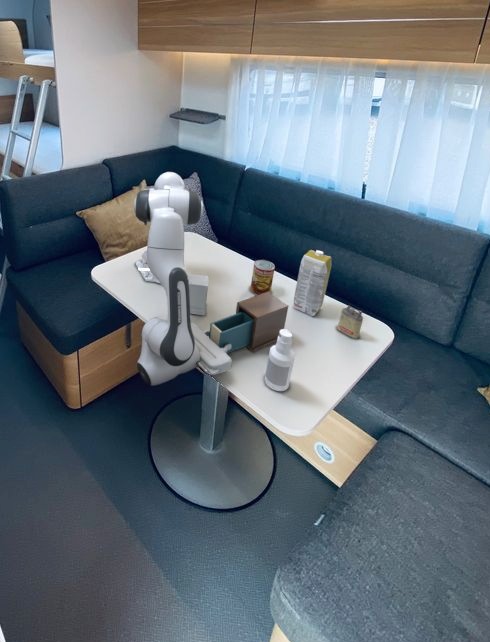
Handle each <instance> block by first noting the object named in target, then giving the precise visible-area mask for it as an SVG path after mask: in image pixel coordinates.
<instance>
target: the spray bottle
mask: <svg viewBox="0 0 490 642" xmlns="http://www.w3.org/2000/svg"><path fill="white" fill-rule="evenodd" d="M292 343H293V334H292V332H291V330H289V329H286V328H284V329H281V330H280V333H279V336H278V339H277V341H276V342H275V344H273V345H272V346H271V347H270V348H269V353H268V359H267V363H266V369H265V374H264V381H265V384H266V386H267V387H268V388H269V389H271V390H273V391H276V392H283V391H287V390H288V389H289V387H290V382H291V377H292V372H293V367H294V362H295V358H296V357H295V355H296V354H295V352H294V351H293V350H292Z"/></svg>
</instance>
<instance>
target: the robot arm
mask: <svg viewBox="0 0 490 642" xmlns="http://www.w3.org/2000/svg"><path fill="white" fill-rule="evenodd" d="M133 211H134V214H135V217H136V218H137V220H138V221H140V222H141V223H144V224H143V225H144V226H147V225H148V223H150V224H149V225H150V226H149V231H148V236H147V242H146V243H147V244H146V245H147V246H146V250H145V251H144V252H143V253H142V254H141V258H140V259H138V260H137V261H136V262H135V266H136V268H137V269H138V271H139V273H140V274H141V276H142V277H143V279H144V281H146V282H151V283H156V284H160V285H162V287H163V289H164V291H165V295H166V300H167V320H166V319H164V318H162V317H159V316H154V317H151V318H149V319H148V320H147V321H145V323H144V325H143V326H142V329H141V333H140V336H141V341H142V342H141V351H140V356H139V358H138V360H137V362H136V368H137V371H138V373H139V375H140V377H141V378H142V380H143V381H144V382H145V383H146V384H148V385H149V386H152V387H153V386H159V385H162V384H164V383H166V382H170V381H171V380H173V379H175V378H176V377H177V376H179V375H181V374H187V373H188V372H190V371H192V370H195V369H196V368H199V369H201V370H202V372H203V373H204V374H206V375H209V376H212V377H213V376H216V375H219V374H222V373H224V372H225V373H226V372H227V371H229V370H231V367H232V357H231V356H229V355H228V353H227V351H228V350H230V349H231V346H232V345H231V344H230V343H229V342H227V343H224V349H223V348H220V347H218V346H217V345H216V344H215V343H214V342H213V341H212V340H211V339H210V338H209V331H210V329H200V328H199V327H198V326H197V325H196V324H195V323H193V322H192V320H191V314H190V296H189V283H188V280H189V276H188V274H187V271H186V266H185V265H186V264H185V225H187V226H190V225H196V224H198V223H199V222H200V221H201V218H202V216H203V213H204V202H203V199H202V197H201V196H200V194H199V193H198V192H196V191H193V190H192V189H191V188H190V187H189V189H187V188H186V186H185V182H184V180H183V179H182V177H181V176H180V174H178V173H176V172H173V171H166V172H164V173H161V174H160V175H159V176H158V178H157V179H156V181H155V183H154V186H153V187H151V188H144V189H141V190H139V191H138V192H137V194H136V196H135V198H134V200H133ZM226 353H227V354H226Z"/></svg>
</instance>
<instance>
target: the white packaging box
mask: <svg viewBox="0 0 490 642" xmlns="http://www.w3.org/2000/svg"><path fill="white" fill-rule="evenodd" d="M188 283H189V296H190V315H197V316H206V308H207V300H208V291H209V276H208V275H203V274H192V273H189V274H188Z"/></svg>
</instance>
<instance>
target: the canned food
mask: <svg viewBox="0 0 490 642" xmlns="http://www.w3.org/2000/svg"><path fill="white" fill-rule="evenodd" d="M275 269H276V267H275V264H274V263H273V262H271V261H269V260H265V259H257V260H255V261H254V262H253V268H252V276H251V283H250V291H251V293H252V294H254V295H255V296H257V295H260V294H263V293H266V292H269V293H271V292H272V286H273V282H274V281H273V280H274V276H275V275H274V273H275ZM271 294H272V293H271Z"/></svg>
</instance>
